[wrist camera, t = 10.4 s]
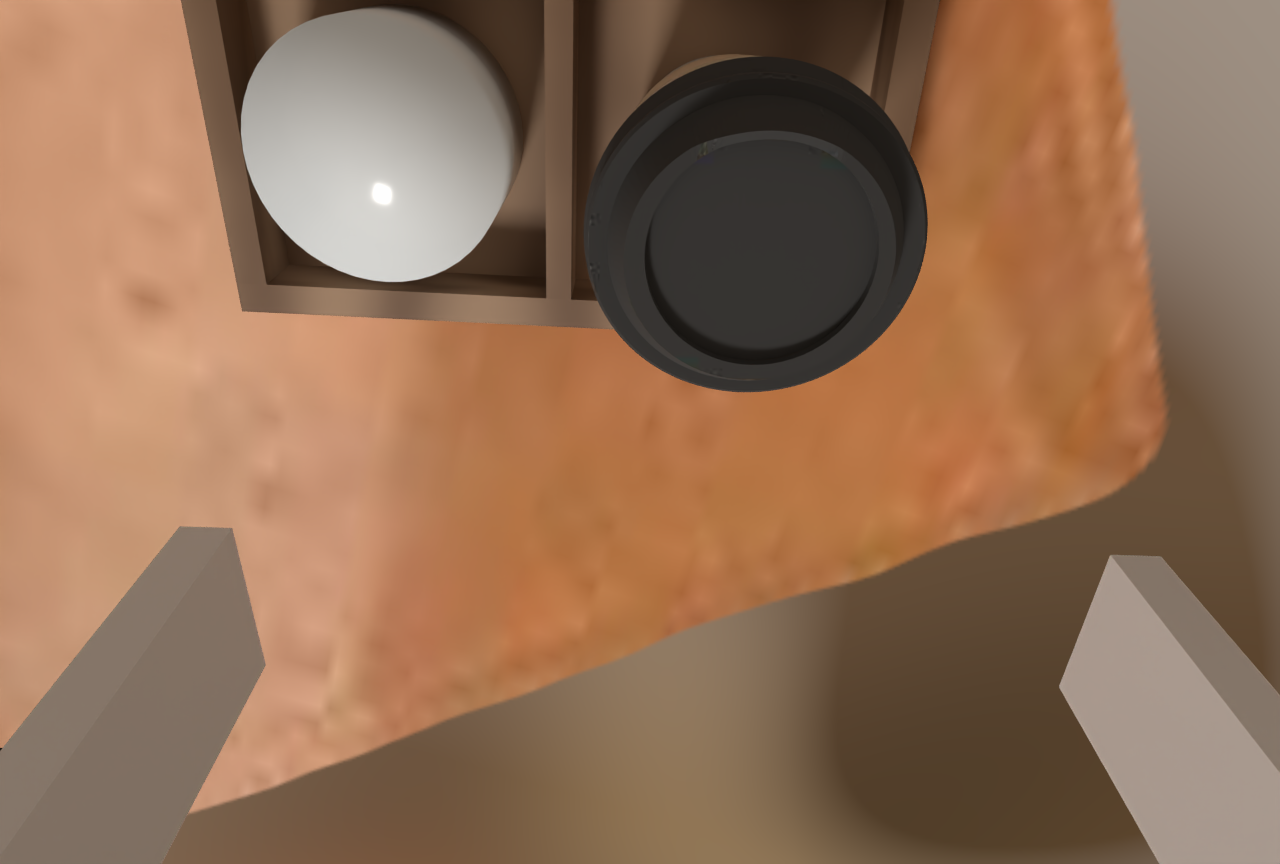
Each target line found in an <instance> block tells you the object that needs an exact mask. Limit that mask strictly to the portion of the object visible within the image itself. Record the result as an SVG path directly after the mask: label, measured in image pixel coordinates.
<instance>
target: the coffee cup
mask: <svg viewBox="0 0 1280 864" xmlns="http://www.w3.org/2000/svg"><path fill="white" fill-rule="evenodd" d="M927 226H928V221H927V206H926V199H925V194H924V190H923V186H922V182H921V179H920V176H919V173H918V171H917V168H916V166H915V163H914V161H913V159H912V157H911V155H910V153H909V151H908V148H907V146H906V144H905V142H904V140H903V138H902V136H901V135H900V133H899V131H898V130H897V128H896V126H895V125H894V124H893V122H892V121H891V119H890V118H889V117H888V115H887V114H886V113H885V112H884V111H883V109H882V108H881V107H880V106H879V105H878V104H877V103H876V102H875V101H874V100H873V99H872V98H871V97H870V96H869V95H867V94H866V93H865V92H864V91H863V90H861V89H860V88H859V87H857V86H856V85H854V84H853V83H851V82H850V81H848V80H847V79H845V78H843V77H841V76H840V75H838V74H836V73H834V72H832V71H829V70H827V69H825V68H822V67H820V66H817V65H814V64H811V63H807V62H803V61H799V60H794V59H788V58H781V57H767V56H753V55H740V54H726V55H712V56H706V57H702V58H698V59H695V60H692V61H690V62H687V63H685V64H683V65H681V66H680V67H678V68H676V69H675V70H673V71H672V72H670V73H669V74H668V75H667V76H665V77H664V78H663V79H662V80H661V81H660V82H658V83H657V84H656V85H655V86H654V87H653V88H652V89H651V90H650V91H649V92H648V93H647V94H646V96H645V97H644V98H643V99H642V101H641V102H640V103H639V105H638V106H637V108H636V109H635V111H634V112H633V113H632V114H631V115H630V116H629V117H628V118H627V119H626V121H625V122H624V123H623V124H622V126H621V127H620V128H619V129H618V131H617V132H616V133H615V135H614V136H613V138H612V139H611V141H610V143H609V144H608V146H607V148H606V149H605V151H604V153H603V155H602V157H601V159H600V161H599V163H598V166H597V168H596V171H595V173H594V176H593V179H592V182H591V185H590V189H589V192H588V196H587V201H586V207H585V215H584V250H585V258H586V263H587V269H588V274H589V278H590V281H591V285H592V288H593V291H594V293H595V296H596V298H597V301H598V303H599V305H600V307H601V309H602V311H603V313H604V314H605V316H606V318H607V319H608V321H609V322H610V324H611V325H612V327H613V328H614V329H615V331H616V332H617V333H618V334H619V336H620V337H621V338H622V339H623V340H624V341H625V342H626V343H627V344H628V345H629V346H630V347H631V348H632V349H633V350H634V351H635V352H636V353H637V354H639V355H640V356H641V357H642V358H644V359H645V360H646V361H648V362H649V363H651V364H652V365H654V366H655V367H657V368H659V369H660V370H662V371H664V372H666V373H668V374H670V375H672V376H674V377H676V378H678V379H681V380H683V381H686V382H689V383H692V384H695V385H698V386H702V387H706V388H711V389H716V390H722V391H732V392H762V391H771V390H778V389H783V388H788V387H792V386H796V385H799V384H803V383H806V382H809V381H812V380H814V379H817V378H819V377H821V376H824V375H826V374H828V373H830V372H832V371H834V370H836V369H838V368H840V367H841V366H843V365H845V364H846V363H848V362H849V361H851V360H852V359H854V358H855V357H857V356H858V355H859V354H861V353H862V352H863V351H864V350H866V349H867V348H868V347H869V346H870V345H871V344H873V343H874V342H875V341H876V340H877V339H878V338H879V337H880V336H881V335H882V334H883V333H884V332H885V330H886V329H887V328H888V327H889V326H890V325H891V323H892V322H893V321H894V319H895V318H896V317H897V315H898V314H899V313H900V311H901V309H902V308H903V306H904V305H905V303H906V301H907V299H908V298H909V296H910V294H911V292H912V290H913V288H914V285H915V283H916V281H917V278H918V275H919V272H920V269H921V266H922V262H923V258H924V254H925V248H926V241H927Z"/></svg>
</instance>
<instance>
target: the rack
mask: <svg viewBox="0 0 1280 864" xmlns="http://www.w3.org/2000/svg"><path fill="white" fill-rule="evenodd" d="M939 2H940V0H181V3H182V8H183V13H184V18H185V23H186V28H187V33H188V38H189V43H190V49H191V54H192V59H193V64H194V69H195V74H196V79H197V84H198V89H199V94H200V99H201V104H202V109H203V115H204V120H205V125H206V130H207V135H208V140H209V145H210V150H211V155H212V160H213V165H214V170H215V176H216V181H217V186H218V191H219V196H220V201H221V206H222V211H223V216H224V221H225V226H226V231H227V236H228V242H229V247H230V252H231V257H232V262H233V267H234V272H235V277H236V282H237V287H238V292H239V297H240V303H241V308H242V311H248V312H269V313H289V314H310V315H331V316H351V317H372V318H392V319H413V320H434V321H454V322H475V323H495V324H516V325H537V326H557V327H578V328H598V329H614V328H613V327H612V325H611V324H610V322H609V321H608V319H607V318H606V316H605V314H604V313H603V311H602V309H601V307H600V305H599V303H598V301H597V298H596V296H595V293H594V291H593V288H592V285H591V281H590V278H589V274H588V269H587V263H586V258H585V250H584V215H585V207H586V201H587V196H588V192H589V189H590V185H591V182H592V179H593V176H594V173H595V171H596V168H597V166H598V163H599V161H600V159H601V157H602V155H603V153H604V151H605V149H606V148H607V146H608V144H609V143H610V141H611V139H612V138H613V136H614V135H615V133H616V132H617V131H618V129H619V128H620V127H621V126H622V124H623V123H624V122H625V121H626V119H627V118H628V117H629V116H630V115H631V114H632V113H633V112H634V111H635V109H636V108H637V106H638V105H639V103H640V102H641V101H642V99H643V98H644V97H645V96H646V94H647V93H648V92H649V91H650V90H651V89H652V88H653V87H654V86H655V85H656V84H657V83H658V82H660V81H661V80H662V79H663V78H664V77H665V76H667V75H668V74H669V73H670V72H672V71H673V70H675V69H676V68H678V67H680V66H681V65H683V64H685V63H687V62H690V61H692V60H695V59H698V58H702V57H706V56H712V55H726V54H740V55H753V56H767V57H781V58H788V59H794V60H799V61H803V62H807V63H811V64H814V65H817V66H820V67H822V68H825V69H827V70H829V71H832V72H834V73H836V74H838V75H840V76H841V77H843V78H845V79H847V80H848V81H850V82H851V83H853V84H854V85H856V86H857V87H859V88H860V89H861V90H863V91H864V92H865V93H866V94H867V95H869V96H870V97H871V98H872V99H873V100H874V101H875V102H876V103H877V104H878V105H879V106H880V107H881V108H882V109H883V111H884V112H885V113H886V114H887V115H888V117H889V118H890V119H891V121H892V122H893V124H894V125H895V126H896V128H897V130H898V131H899V133H900V135H901V136H902V138H903V140H904V142H905V144H906V146H907V148H908V151H909V153H910V148H911V143H912V138H913V133H914V128H915V123H916V118H917V113H918V108H919V103H920V98H921V93H922V88H923V83H924V77H925V72H926V67H927V62H928V57H929V52H930V47H931V42H932V37H933V32H934V27H935V22H936V17H937V12H938V7H939ZM382 4H404V5H411V6H417V7H421V8H424V9H428V10H431V11H434V12H436V13H439V14H441V15H443V16H446V17H448V18H449V19H451V20H453V21H455V22H456V23H458V24H460V25H461V26H463V27H464V28H465V29H467V30H468V31H469V32H470V33H472V34H473V35H474V36H475V37H476V38H477V39H478V40H480V41H481V42H482V43H483V44H484V45H485V46H486V47H487V49H488V50H489V51H490V52H491V53H492V55H493V56H494V57H495V58H496V60H497V61H498V63H499V64H500V66H501V67H502V69H503V71H504V72H505V74H506V75H507V78H508V80H509V82H510V84H511V86H512V88H513V90H514V93H515V96H516V99H517V102H518V105H519V110H520V115H521V119H522V129H523V151H522V157H521V163H520V168H519V171H518V174H517V177H516V180H515V182H514V184H513V187H512V189H511V191H510V193H509V195H508V196H507V198H506V200H505V202H504V203H503V205H502V207H501V208H500V210H499V212H498V214H497V215H496V217H495V219H494V221H493V222H492V224H491V226H490V227H489V229H488V230H487V232H486V234H485V235H484V237H483V238H482V240H481V241H480V242H479V243H478V244H477V245H476V247H475V248H474V249H473V250H472V251H471V252H470V253H469V254H468V255H466V256H465V257H464V258H463V259H462V260H460V261H459V262H458V263H456V264H454V265H453V266H451V267H450V268H448V269H446V270H444V271H442V272H439V273H437V274H435V275H432V276H429V277H425V278H422V279H418V280H411V281H404V282H383V281H374V280H368V279H364V278H359V277H355V276H352V275H350V274H347V273H344V272H341V271H339V270H337V269H335V268H333V267H330V266H328V265H326V264H324V263H323V262H321V261H320V260H318V259H316V258H315V257H313V256H312V255H310V254H309V253H307V252H306V251H305V250H304V249H302V248H301V247H300V246H299V245H297V244H296V243H295V242H294V241H293V240H292V239H291V238H290V237H289V236H288V235H287V234H286V233H285V232H284V231H283V230H282V229H281V228H280V226H279V225H278V224H277V223H276V221H275V220H274V219H273V218H272V217H271V215H270V213H269V212H268V210H267V209H266V207H265V206H264V204H263V203H262V201H261V199H260V197H259V195H258V193H257V191H256V189H255V187H254V185H253V183H252V180H251V177H250V174H249V172H248V169H247V165H246V161H245V157H244V153H243V146H242V138H241V114H242V107H243V101H244V96H245V93H246V90H247V86H248V83H249V80H250V78H251V76H252V74H253V72H254V70H255V68H256V66H257V64H258V63H259V61H260V60H261V59H262V57H263V56H264V54H265V53H266V52H267V50H268V49H269V48H270V47H271V46H272V45H273V44H274V43H275V42H276V41H277V40H278V39H279V38H281V37H282V36H283V35H285V34H286V33H287V32H289V31H290V30H291V29H293V28H295V27H297V26H299V25H301V24H303V23H305V22H307V21H310V20H313V19H316V18H319V17H322V16H326V15H331V14H336V13H340V12H345V11H350V10H355V9H360V8H365V7H370V6H376V5H382Z"/></svg>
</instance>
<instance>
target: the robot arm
mask: <svg viewBox="0 0 1280 864" xmlns="http://www.w3.org/2000/svg"><path fill="white" fill-rule="evenodd" d="M265 665H266V664H265V660H264V656H263V652H262V648H261V644H260V640H259V636H258V632H257V628H256V623H255V619H254V615H253V611H252V607H251V603H250V599H249V595H248V591H247V587H246V583H245V579H244V575H243V571H242V566H241V562H240V558H239V554H238V550H237V546H236V542H235V538H234V534H233V530H232V528H212V527H179V528H178V529H177V531H176V532H175V533H174V534H173V536H172V537H171V538H170V539H169V541H168V542H167V543H166V544H165V546H164V547H163V548H162V549H161V551H160V552H159V553H158V554H157V556H156V557H155V558H154V559H153V561H152V562H151V563H150V564H149V566H148V567H147V568H146V569H145V571H144V572H143V573H142V574H141V576H140V577H139V578H138V579H137V581H136V582H135V583H134V584H133V586H132V587H131V588H130V589H129V591H128V592H127V593H126V594H125V596H124V597H123V598H122V599H121V601H120V602H119V603H118V604H117V606H116V607H115V608H114V609H113V611H112V612H111V613H110V614H109V616H108V617H107V618H106V619H105V621H104V622H103V623H102V624H101V626H100V627H99V628H98V629H97V631H96V632H95V633H94V634H93V636H92V637H91V638H90V639H89V641H88V642H87V643H86V644H85V646H84V647H83V648H82V649H81V651H80V652H79V653H78V654H77V656H76V657H75V658H74V659H73V661H72V662H71V663H70V664H69V666H68V667H67V668H66V669H65V671H64V672H63V673H62V674H61V676H60V677H59V678H58V679H57V681H56V682H55V683H54V684H53V686H52V687H51V688H50V689H49V691H48V692H47V693H46V694H45V696H44V697H43V698H42V699H41V701H40V702H39V703H38V704H37V706H36V707H35V708H34V709H33V711H32V712H31V713H30V714H29V716H28V717H27V718H26V719H25V721H24V722H23V723H22V724H21V726H20V727H19V728H18V729H17V731H16V732H15V733H14V734H13V736H12V737H11V738H10V739H9V741H8V742H7V743H6V744H5V746H4V747H3V748H0V864H162V862H163V860H164V858H165V856H166V854H167V852H168V850H169V848H170V846H171V844H172V842H173V840H174V839H175V837H176V835H177V833H178V831H179V829H180V827H181V825H182V823H183V821H184V819H185V818H186V816H187V814H188V812H189V810H190V808H191V806H192V804H193V803H194V801H195V799H196V797H197V795H198V793H199V791H200V789H201V787H202V785H203V783H204V782H205V780H206V778H207V776H208V774H209V772H210V770H211V768H212V766H213V764H214V763H215V761H216V759H217V757H218V755H219V753H220V751H221V749H222V747H223V745H224V743H225V742H226V740H227V738H228V736H229V734H230V732H231V730H232V728H233V726H234V724H235V722H236V721H237V719H238V717H239V715H240V713H241V711H242V709H243V707H244V705H245V703H246V702H247V700H248V698H249V696H250V694H251V692H252V690H253V688H254V686H255V684H256V682H257V681H258V679H259V677H260V675H261V673H262V671H263V669H264V667H265ZM1059 688H1060V690H1061V691H1062V693H1063V695H1064V696H1065V698H1066V700H1067V702H1068V703H1069V705H1070V707H1071V709H1072V710H1073V712H1074V714H1075V716H1076V718H1077V719H1078V721H1079V723H1080V725H1081V726H1082V728H1083V730H1084V732H1085V733H1086V735H1087V737H1088V739H1089V740H1090V742H1091V744H1092V746H1093V748H1094V749H1095V751H1096V753H1097V755H1098V756H1099V758H1100V760H1101V762H1102V763H1103V765H1104V767H1105V768H1106V770H1107V772H1108V774H1109V775H1110V777H1111V779H1112V781H1113V783H1114V785H1115V786H1116V788H1117V790H1118V791H1119V793H1120V795H1121V797H1122V799H1123V800H1124V802H1125V804H1126V805H1127V807H1128V809H1129V811H1130V813H1131V814H1132V816H1133V818H1134V819H1135V822H1136V823H1137V825H1138V826H1139V829H1140V830H1141V832H1142V834H1143V835H1144V837H1145V839H1146V841H1147V843H1148V844H1149V846H1150V848H1151V850H1152V851H1153V853H1154V855H1155V857H1156V858H1157V860H1158V862H1159V864H1280V695H1279V694H1278V693H1277V691H1276V690H1275V689H1274V688H1273V687H1272V686H1271V684H1270V683H1269V682H1268V681H1267V680H1266V679H1265V677H1264V676H1263V675H1262V674H1261V673H1260V672H1259V670H1258V669H1257V668H1256V667H1255V666H1254V665H1253V663H1252V662H1251V661H1250V660H1249V659H1248V658H1247V656H1246V655H1245V654H1244V653H1243V652H1242V651H1241V649H1240V648H1239V647H1238V646H1237V645H1236V644H1235V642H1234V641H1233V640H1232V639H1231V638H1230V637H1229V635H1228V634H1227V633H1226V632H1225V631H1224V630H1223V628H1222V627H1221V626H1220V625H1219V624H1218V623H1217V622H1216V620H1215V619H1214V618H1213V617H1212V616H1211V614H1210V613H1209V612H1208V611H1207V610H1206V609H1205V608H1204V606H1203V605H1202V604H1201V603H1200V602H1199V601H1198V599H1197V598H1196V597H1195V596H1194V595H1193V594H1192V592H1191V591H1190V590H1189V589H1188V588H1187V587H1186V585H1185V584H1184V583H1183V582H1182V581H1181V580H1180V578H1179V577H1178V576H1177V575H1176V574H1175V573H1174V571H1173V570H1172V569H1171V568H1170V567H1169V566H1168V564H1167V563H1166V562H1165V561H1164V560H1163V559H1162V557H1160V556H1128V555H1110V557H1109V560H1108V563H1107V565H1106V568H1105V571H1104V573H1103V576H1102V578H1101V581H1100V583H1099V586H1098V589H1097V591H1096V593H1095V596H1094V599H1093V601H1092V604H1091V606H1090V609H1089V611H1088V614H1087V617H1086V619H1085V622H1084V624H1083V627H1082V629H1081V632H1080V635H1079V637H1078V640H1077V642H1076V645H1075V647H1074V650H1073V652H1072V655H1071V658H1070V660H1069V663H1068V665H1067V668H1066V670H1065V673H1064V676H1063V678H1062V681H1061V683H1060V686H1059Z"/></svg>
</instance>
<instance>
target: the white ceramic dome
mask: <svg viewBox="0 0 1280 864" xmlns="http://www.w3.org/2000/svg"><path fill="white" fill-rule="evenodd" d="M241 138H242V146H243V153H244V157H245V161H246V165H247V169H248V172H249V174H250V177H251V180H252V183H253V185H254V187H255V189H256V191H257V193H258V195H259V197H260V199H261V201H262V203H263V204H264V206H265V207H266V209H267V210H268V212H269V213H270V215H271V217H272V218H273V219H274V220H275V221H276V223H277V224H278V225H279V226H280V228H281V229H282V230H283V231H284V232H285V233H286V234H287V235H288V236H289V237H290V238H291V239H292V240H293V241H294V242H295V243H296V244H297V245H299V246H300V247H301V248H302V249H304V250H305V251H306V252H307V253H309V254H310V255H312V256H313V257H315V258H316V259H318V260H320V261H321V262H323V263H324V264H326V265H328V266H330V267H333V268H335V269H337V270H339V271H341V272H344V273H347V274H350V275H352V276H355V277H359V278H364V279H368V280H374V281H383V282H404V281H411V280H418V279H422V278H425V277H429V276H432V275H435V274H437V273H439V272H442V271H444V270H446V269H448V268H450V267H451V266H453V265H454V264H456V263H458V262H459V261H460V260H462V259H463V258H464V257H465V256H466V255H468V254H469V253H470V252H471V251H472V250H473V249H474V248H475V247H476V245H477V244H478V243H479V242H480V241H481V240H482V238H483V237H484V235H485V234H486V232H487V230H488V229H489V227H490V226H491V224H492V222H493V221H494V219H495V217H496V215H497V214H498V212H499V210H500V208H501V207H502V205H503V203H504V202H505V200H506V198H507V196H508V195H509V193H510V191H511V189H512V187H513V184H514V182H515V180H516V177H517V174H518V171H519V168H520V163H521V157H522V151H523V129H522V119H521V115H520V110H519V105H518V102H517V99H516V96H515V93H514V90H513V88H512V86H511V84H510V82H509V80H508V78H507V75H506V74H505V72H504V71H503V69H502V67H501V66H500V64H499V63H498V61H497V60H496V58H495V57H494V56H493V55H492V53H491V52H490V51H489V50H488V49H487V47H486V46H485V45H484V44H483V43H482V42H481V41H480V40H478V39H477V38H476V37H475V36H474V35H473V34H472V33H470V32H469V31H468V30H467V29H465V28H464V27H463V26H461V25H460V24H458V23H456V22H455V21H453V20H451V19H449V18H448V17H446V16H443V15H441V14H439V13H436V12H434V11H431V10H428V9H424V8H421V7H417V6H411V5H404V4H382V5H376V6H370V7H365V8H360V9H355V10H350V11H345V12H340V13H336V14H331V15H326V16H322V17H319V18H316V19H313V20H310V21H307V22H305V23H303V24H301V25H299V26H297V27H295V28H293V29H291V30H290V31H289V32H287V33H286V34H285V35H283V36H282V37H281V38H279V39H278V40H277V41H276V42H275V43H274V44H273V45H272V46H271V47H270V48H269V49H268V50H267V52H266V53H265V54H264V56H263V57H262V59H261V60H260V61H259V63H258V64H257V66H256V68H255V70H254V72H253V74H252V76H251V78H250V80H249V83H248V86H247V90H246V93H245V96H244V101H243V107H242V114H241Z"/></svg>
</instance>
